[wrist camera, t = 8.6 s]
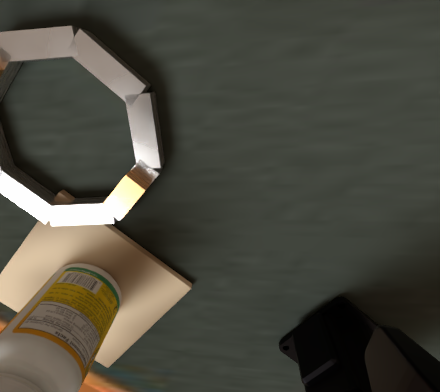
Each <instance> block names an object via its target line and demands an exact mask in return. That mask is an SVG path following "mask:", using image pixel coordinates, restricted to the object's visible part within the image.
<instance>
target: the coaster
mask: <svg viewBox="0 0 440 392" xmlns="http://www.w3.org/2000/svg"><path fill="white" fill-rule="evenodd" d="M74 199H75V198H74V197H73V196H72V195H70V194H69V193H68V192H66V191H65V190H61V191H60V192H59V193H58V194H57V196H56V197H55V198H54V200H55V201H57V202H62V201H72V200H74ZM76 263H84V264H90V265H94V266H96V267H99V268H101V269H102V270H104V271H106V272H107V273H108V274H109V275H111V276H112V278H113V279H114V280H115V281H116V283H117V284H118V286H119V288H120V291H121V296H122V300H121V305H120V308H119V310H118V313H117V315H116V317H115V319H114V321H113V323H112V325H111V327H110V329H109V331H108V333H107V335H106V337H105V339H104V341H103V343H102V345H101V347H100V349H99V352H98V353H97V355H96V357H95V359H94V360H96V361H97V362H99V363H101V364H102V365H104V366H105V367H107V368H108V367H109V366H110V365H111V364H112V363H114V362H115V361H116V360H117V359H118V358H119V357H120V356H121V355H122V354H123V353H124V352H125V351H126V350H127V349H128V348H129V347H130V346H131V345H132V344H133V343H135V342H136V341H137V340H138V339H139V338H140V337H141V336H142V335H143V334H144V333H145V332H146V331H147V330H148V329H149V328H150V327H151V326H152V325H153V324H154V323H156V322H157V321H158V320H159V319H160V318H161V317H162V316H163V315H164V314H165V313H166V312H167V311H168V310H169V309H170V308H171V307H172V306H173V305H174V304H175V303H177V302H178V301H179V300H180V299H181V298H182V297H183V296H184V295H185V294H186V293H187V292H188V291H189V290H190V289H191V288H192V283H190V282H189V281H188V280H186V279H185V278H183V277H182V276H181V275H179V274H178V273H177V272H175V271H174V270H173V269H171V268H170V267H168V266H167V265H166V264H164V263H163V262H162V261H160V260H159V259H158V258H156V257H155V256H153V255H152V254H151V253H149V252H148V251H147V250H145V249H144V248H143V247H141V246H140V245H138V244H137V243H136V242H134V241H133V240H132V239H130V238H129V237H128V236H126V235H125V234H123V233H122V232H121V231H119V230H118V229H117V228H115V227H114V226H113V225H111V224H91V225H66V226H51V223H50V221H49V222H47V223H46V224H44V223H43V222H41V221H40V220H39V221H38V222H37V224H36V225H35V226H34V228H33V229H32V231H31V232H30V233H29V235H28V236H27V238H26V239H25V240H24V242H23V243H22V245H21V246H20V247H19V249H18V250H17V252H16V253H15V254H14V256H13V257H12V259H11V260H10V261H9V263H8V264H7V266H6V267H5V268H4V270H3V271H2V273H1V274H0V302H2V303H3V304H5V305H7V306H8V307H10V308H11V309H13V310H15V311H16V312H18V313H19V311H20V310H21V309H22V308H23V307H24V306H25V305H26V304H27V303H28V302H29V301H30V299H31V298H32V297H33V296H34V295H35V294H36V293H37V292H38V291H39V289H40V288H41V287H42V286H43V285H44V284H45V283H46V282H47V281H48V280H49V279H50V277H51V276H53V274H54V273H55V272H56V271H58V270H59V269H61V268H62V267H64V266H67V265H70V264H76Z"/></svg>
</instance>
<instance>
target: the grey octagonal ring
mask: <svg viewBox="0 0 440 392" xmlns="http://www.w3.org/2000/svg"><path fill="white" fill-rule="evenodd" d="M67 58H74V59H75V60H76V61H78V62H79V63H80V64H81V65H82V66H84V67H85V68H86V69H87V70H88V71H90V72H91V73H92V74H93V75H94V76H96V77H97V78H98V79H99V80H100V81H101V82H103V83H104V84H105V85H106V86H107V87H109V88H110V89H111V90H112V91H113V92H115V93H116V94H117V95H118V96H119V97H121V98H122V99H123V100H124V101H125V102H126V106H127V112H128V118H129V124H130V129H131V135H132V141H133V147H134V152H135V158H136V164H135V166H134V167H133V168H132V169H131V171H129V172H128V173H127V174H126V175H125V176H124V178H123V179H122V180H121V181H120V183H119V184H118V185H117V187H116V188H115V189H114V190H113V192H112V193H111V194H110V195H109V197H89V198H75V199H74V200H72V201H62V202H57V201H55V200H54V198H55V197H56V195H55V194H54V193H52V192H51V191H49V190H48V189H47V188H45V187H44V186H43V185H41V184H40V183H38V182H37V181H36V180H34V179H33V178H32V177H30V176H29V175H27V174H26V173H25V172H23V171H22V170H20V169H19V168H18V167H16V166H15V165H14V162H13V159H12V156H11V153H10V150H9V146H8V143H7V140H6V137H5V134H4V131H3V128H2V125H1V122H0V193H1V194H3V195H4V196H6V197H7V198H8V199H10V200H11V201H13V202H14V203H16V204H17V205H19V206H20V207H21V208H23V209H24V210H26V211H27V212H29V213H30V214H31V215H33V216H34V217H36V218H37V219H39V220H40V221H41V222H43V223H44V224H46V223H47V222H49V221H50V223H51V226H66V225H91V224H114V223H115V222H116V221H117V220H119V221H120V220H121V219H122V218H123V217H124V216H125V215H126V213H127V212H128V211H129V210H130V209H131V207H132V206H133V205H134V204H135V203H136V201H137V200H138V199H139V198H140V197H141V195H142V194H143V193H144V192H145V191H146V189H147V188H148V187H149V186H150V184H151V183H152V182H153V181H154V179H155V178H156V177H157V176H158V175H159V173H160V172H161V171H162V169H163V168H162V166H163V164H164V163H165V159H164V151H163V144H162V137H161V130H160V123H159V115H158V108H157V101H156V94H155V92H147V91H148V89H149V88H150V87H151V84H150V83H149V82H147V81H146V80H145V79H144V78H143V77H142V76H141V75H139V74H138V73H137V72H136V71H135V70H134V69H133V68H131V67H130V66H129V65H128V64H127V63H126V62H125V61H123V60H122V59H121V58H120V57H119V56H118V55H116V54H115V53H114V52H113V51H112V50H111V49H110V48H108V47H107V46H106V45H105V44H104V43H103V42H102V41H100V40H99V39H98V38H97V37H96V36H95V35H94V34H92V33H91V32H90V31H87V30H83V29H82V28H78V27H75V26H63V27H52V28H41V29H29V30H18V31H7V32H0V103H1V101H2V99H3V97H4V95H5V94H6V92H7V90H8V88H9V87H10V85H11V83H12V81H13V79H14V78H15V76H16V74H17V72H18V70H19V69H20V67H21V65H22V63H23V62H31V61H43V60H55V59H67Z"/></svg>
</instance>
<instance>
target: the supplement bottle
mask: <svg viewBox="0 0 440 392" xmlns="http://www.w3.org/2000/svg"><path fill="white" fill-rule="evenodd" d="M121 300H122V296H121V291H120V288H119V286H118V284H117V283H116V281H115V280H114V279H113V278H112V276H111V275H109V274H108V273H107V272H106V271H104V270H102V269H101V268H99V267H96V266H94V265H90V264H84V263H76V264H70V265H67V266H64V267H62V268H61V269H59V270H58V271H56V272H55V273H54V274H53V276H51V277H50V279H49V280H48V281H47V282H46V283H45V284H44V285H43V286H42V287H41V288H40V289H39V291H38V292H37V293H36V294H35V295H34V296H33V297H32V298H31V299H30V301H29V302H28V303H27V304H26V305H25V306H24V307H23V308H22V309H21V310H20V311H19V313H18V314H17V315H16V316H15V317H14V318H13V319H12V320H11V321H10V322H9V323H8V324H7V326H6V327H5V328H4V329H3V330H2V331H1V332H0V392H78V391H79V389H80V387H81V385H82V383H83V381H84V379H85V377H86V375H87V373H88V371H89V370H90V368H91V365H92V364H93V362H94V359H95V357H96V355H97V353H98V352H99V349H100V347H101V345H102V343H103V341H104V339H105V337H106V335H107V333H108V331H109V329H110V327H111V325H112V323H113V321H114V319H115V317H116V315H117V313H118V310H119V308H120V305H121Z"/></svg>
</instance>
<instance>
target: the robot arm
mask: <svg viewBox="0 0 440 392" xmlns="http://www.w3.org/2000/svg"><path fill="white" fill-rule="evenodd" d="M341 303H343V304H342V305H339V304H341ZM279 348H280V351H281V352H283V353H284V354H285V355H287V356H288V357H290V358H291V359H292V360H294V361H295V362H296V363H298V366H299V370H300V375H301V380H302V383H303V384H304V386H305V391H306V392H440V362H439V361H438V360H437V359H436V358H434V357H433V356H432V355H431V354H429V353H428V352H427V351H426V350H424V349H423V348H422V347H421V346H419V345H418V344H417V343H416V342H414V341H413V340H412V339H411V338H409V337H408V336H407V335H406V334H405V333H403V332H402V331H401V330H399V329H398V328H396V327H391V326H385V325H377V324H376V323H375V322H374V321H373V320H371V319H370V318H369V317H368V316H367V315H365V314H364V313H363V312H362V311H361V310H359V309H358V308H357V307H356V306H355V305H353V304H352V303H351V302H350V301H348V300H347V299H346V298H344V297H338V298H336V299H334V300H333V301H332V302H330V303H329V304H328V305H326V306H325V307H324V308H323V309H321V310H320V311H319V312H317V313H316V314H315V315H313V316H312V317H311V318H309V319H308V320H307V321H305V322H304V323H303V324H302V325H300V326H299V327H298V328H296V329H295V330H294V331H292V332H291V333H290V334H288V335H287V336H286V337H284V338H283V339H282V340H281V341H280V342H279Z"/></svg>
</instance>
